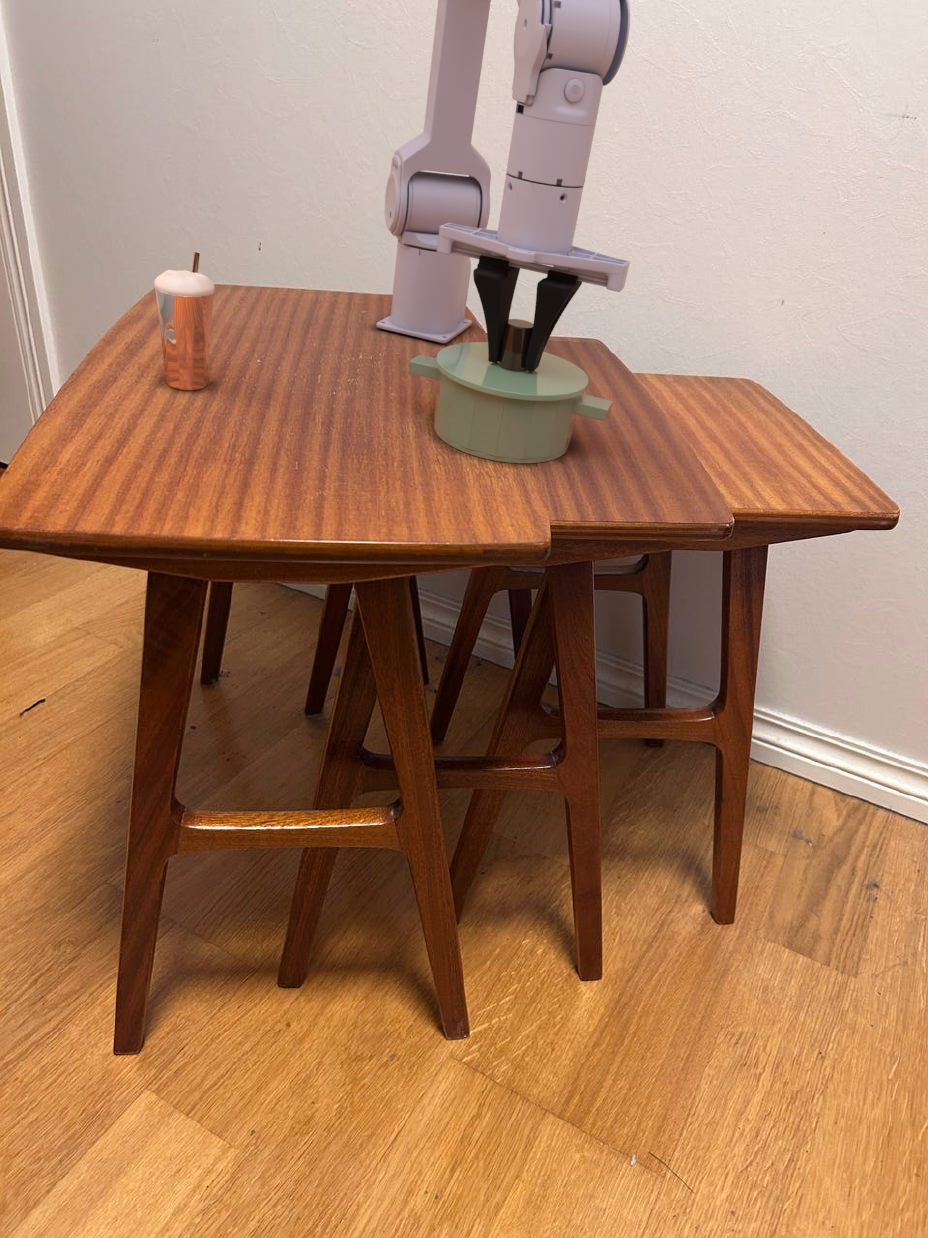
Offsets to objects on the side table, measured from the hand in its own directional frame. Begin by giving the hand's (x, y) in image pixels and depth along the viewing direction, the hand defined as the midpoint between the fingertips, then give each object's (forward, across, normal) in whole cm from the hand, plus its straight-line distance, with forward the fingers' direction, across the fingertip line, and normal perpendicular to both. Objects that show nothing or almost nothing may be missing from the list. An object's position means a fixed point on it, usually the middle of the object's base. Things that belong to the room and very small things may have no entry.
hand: (513, 363), depth 74 cm
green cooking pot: (+6, 0, 0) cm, 6 cm away
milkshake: (+6, -26, -6) cm, 27 cm away
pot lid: (+1, 0, 0) cm, 1 cm away
